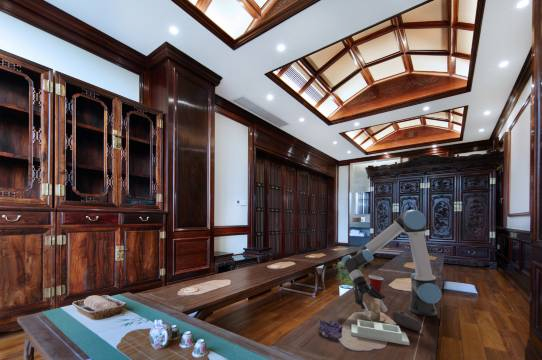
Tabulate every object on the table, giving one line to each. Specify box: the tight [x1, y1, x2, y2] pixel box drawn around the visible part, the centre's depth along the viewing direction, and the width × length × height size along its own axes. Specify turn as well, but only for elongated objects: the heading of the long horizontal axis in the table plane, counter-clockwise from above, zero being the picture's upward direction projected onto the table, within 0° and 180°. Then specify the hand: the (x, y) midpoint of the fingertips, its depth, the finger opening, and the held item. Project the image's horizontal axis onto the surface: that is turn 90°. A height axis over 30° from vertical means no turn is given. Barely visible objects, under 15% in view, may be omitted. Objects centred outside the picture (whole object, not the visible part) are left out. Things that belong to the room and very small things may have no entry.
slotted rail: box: [351, 318, 410, 346], centre depth 128 cm, size 26×10×4 cm, turn 72°
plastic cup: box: [368, 274, 384, 294], centre depth 199 cm, size 11×11×12 cm
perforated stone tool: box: [392, 310, 423, 332], centre depth 139 cm, size 15×5×7 cm, turn 33°
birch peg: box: [370, 297, 381, 323], centre depth 146 cm, size 5×5×12 cm
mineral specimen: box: [318, 320, 344, 340], centre depth 129 cm, size 11×14×4 cm
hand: (377, 313), depth 144 cm, fingers open, 13 cm apart
